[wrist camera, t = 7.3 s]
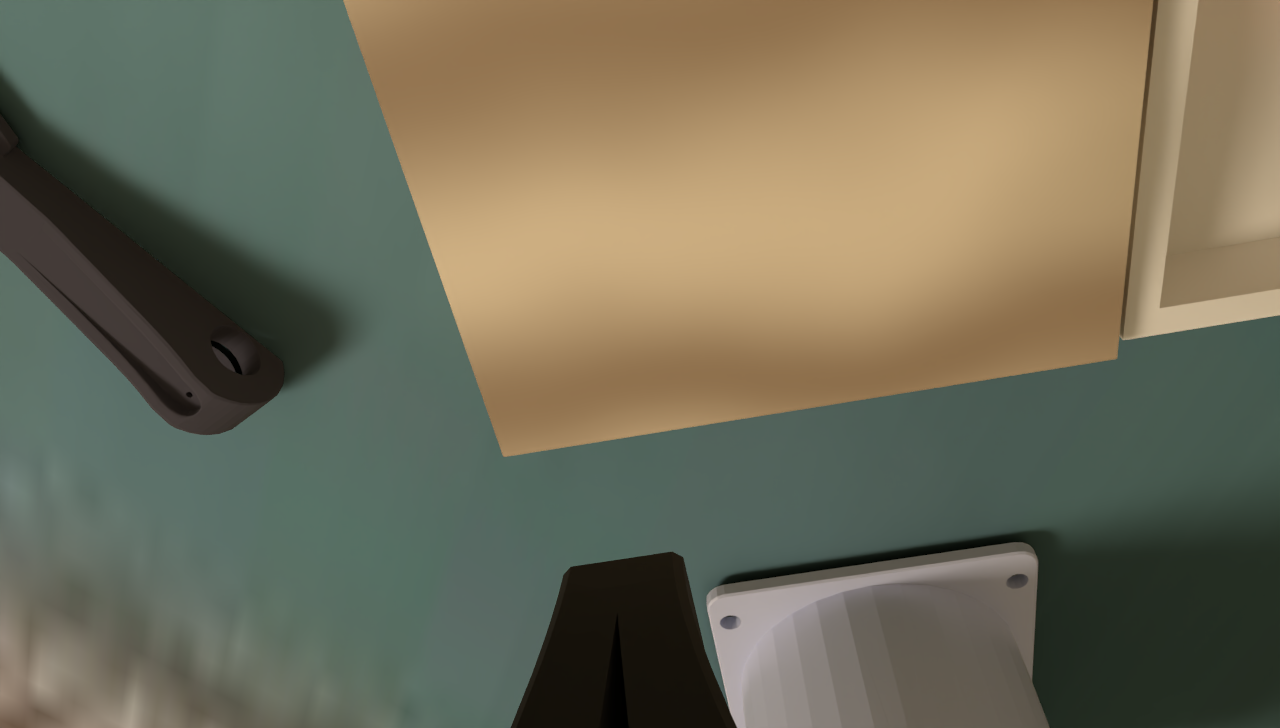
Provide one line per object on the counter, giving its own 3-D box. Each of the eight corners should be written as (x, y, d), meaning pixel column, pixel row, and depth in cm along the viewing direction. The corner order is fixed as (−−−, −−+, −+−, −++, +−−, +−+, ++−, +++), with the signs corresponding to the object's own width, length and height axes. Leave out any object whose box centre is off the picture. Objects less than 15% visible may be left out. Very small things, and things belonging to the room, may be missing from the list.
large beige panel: (1068, 285, 21) (1117, 358, 19) (512, 378, 22) (503, 456, 20) (1129, -657, 13) (1224, -700, 11) (246, -443, 14) (186, -448, 12)
